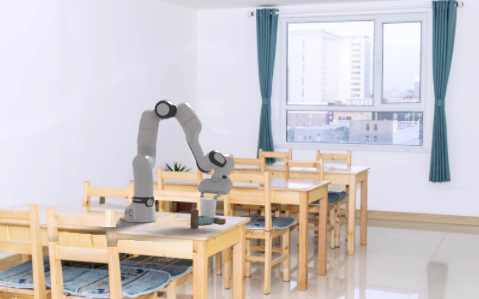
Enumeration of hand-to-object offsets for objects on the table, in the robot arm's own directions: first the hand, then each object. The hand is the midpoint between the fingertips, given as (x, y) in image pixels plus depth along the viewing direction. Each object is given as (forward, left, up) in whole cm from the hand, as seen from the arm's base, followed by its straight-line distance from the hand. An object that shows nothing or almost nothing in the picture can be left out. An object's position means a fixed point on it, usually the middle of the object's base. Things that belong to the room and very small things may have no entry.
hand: (208, 198), depth 333 cm
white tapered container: (-16, +15, -15) cm, 27 cm away
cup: (-7, +2, -15) cm, 17 cm away
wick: (-3, +11, -15) cm, 19 cm away
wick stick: (+2, -12, -15) cm, 19 cm away
